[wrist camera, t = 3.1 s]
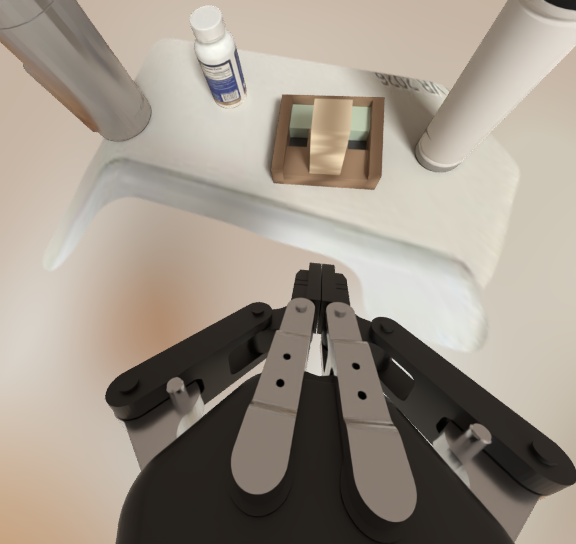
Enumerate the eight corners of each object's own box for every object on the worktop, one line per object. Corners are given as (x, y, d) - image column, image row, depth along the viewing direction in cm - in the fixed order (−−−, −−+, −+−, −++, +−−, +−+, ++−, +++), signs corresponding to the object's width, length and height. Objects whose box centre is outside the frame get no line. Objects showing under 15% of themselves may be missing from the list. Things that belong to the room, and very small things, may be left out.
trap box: (273, 183, 33) (270, 169, 30) (284, 113, 35) (282, 94, 32) (374, 189, 31) (381, 176, 28) (377, 116, 34) (384, 97, 31)
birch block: (309, 173, 30) (311, 130, 24) (312, 147, 31) (314, 98, 24) (339, 175, 30) (350, 131, 23) (342, 148, 31) (352, 99, 24)
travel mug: (403, 149, 32) (552, -111, 13) (441, 127, 33) (644, -160, 13) (431, 182, 31) (645, -54, 12) (471, 158, 31) (745, -109, 12)
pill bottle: (225, 78, 37) (198, -5, 28) (253, 88, 37) (235, 7, 27) (208, 103, 37) (174, 26, 27) (236, 114, 36) (212, 39, 26)
